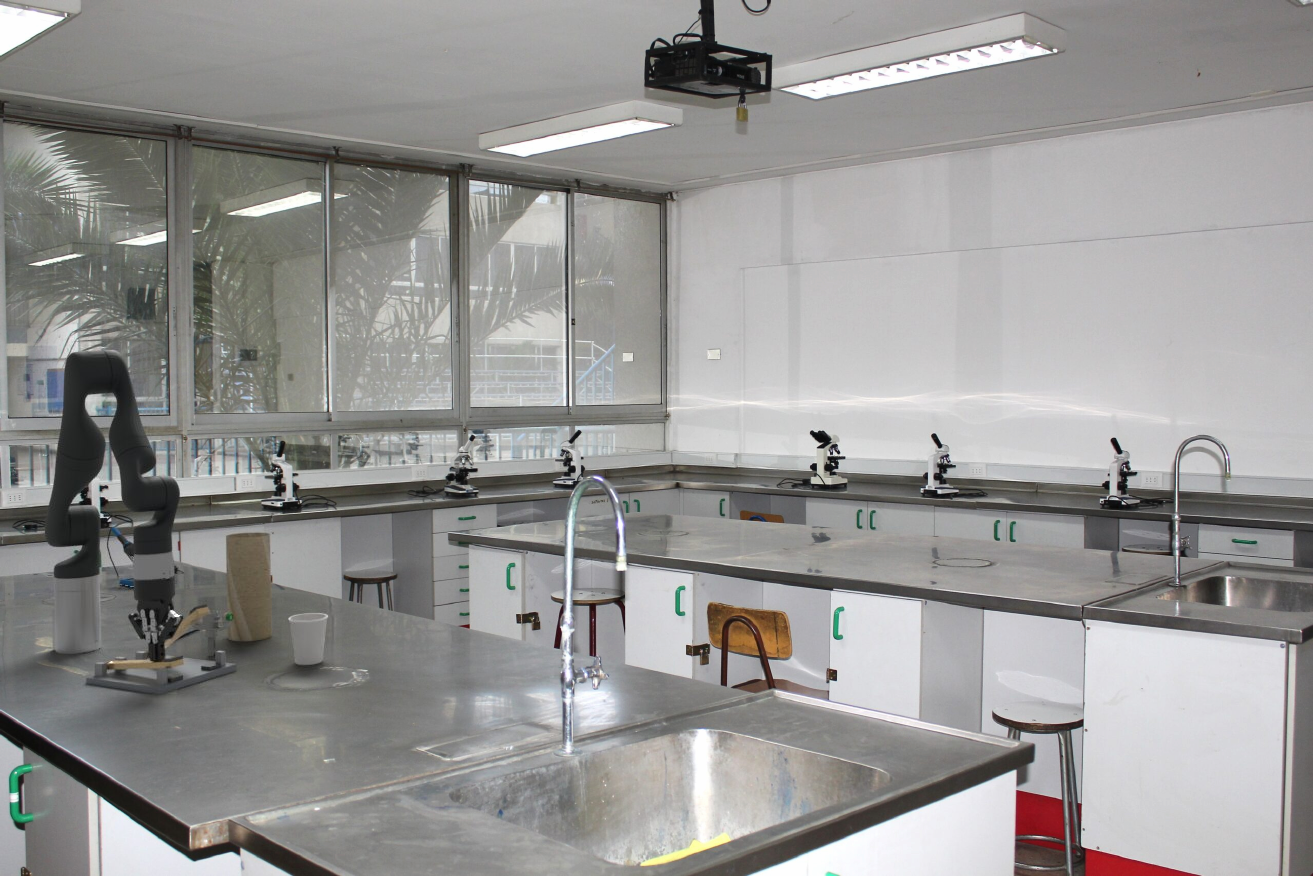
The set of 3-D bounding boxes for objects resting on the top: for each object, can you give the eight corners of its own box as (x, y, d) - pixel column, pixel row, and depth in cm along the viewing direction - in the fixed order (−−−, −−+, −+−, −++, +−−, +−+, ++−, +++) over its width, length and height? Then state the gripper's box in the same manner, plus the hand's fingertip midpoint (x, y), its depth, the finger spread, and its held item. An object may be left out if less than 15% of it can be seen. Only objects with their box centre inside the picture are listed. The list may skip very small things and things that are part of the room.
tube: (236, 643, 249) (234, 538, 248) (221, 636, 256) (219, 535, 255) (278, 637, 255) (276, 535, 254) (262, 630, 263) (261, 531, 262)
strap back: (144, 660, 225) (140, 652, 225) (155, 657, 228) (152, 649, 228) (199, 614, 218) (195, 606, 219) (210, 612, 221) (206, 604, 222)
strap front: (102, 670, 216) (101, 661, 216) (114, 666, 218) (114, 657, 218) (171, 668, 208) (170, 659, 208) (183, 665, 211) (182, 655, 211)
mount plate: (86, 685, 213) (85, 663, 213) (166, 662, 231) (166, 642, 231) (159, 695, 205) (159, 672, 205) (236, 670, 224) (236, 650, 223)
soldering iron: (199, 569, 361) (198, 516, 361) (255, 578, 344) (254, 522, 343) (98, 584, 332) (96, 526, 332) (153, 594, 315) (152, 533, 314)
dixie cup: (316, 667, 226) (315, 621, 226) (281, 665, 228) (280, 620, 228) (335, 658, 235) (335, 613, 234) (301, 656, 236) (301, 612, 236)
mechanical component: (228, 658, 234) (227, 614, 234) (187, 656, 236) (186, 612, 236) (236, 655, 237) (235, 611, 237) (195, 653, 239) (194, 610, 239)
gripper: (114, 577, 210) (117, 663, 211) (163, 579, 205) (166, 667, 206) (145, 571, 217) (148, 654, 218) (193, 573, 212) (196, 658, 213)
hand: (157, 660), depth 212 cm, fingers closed
